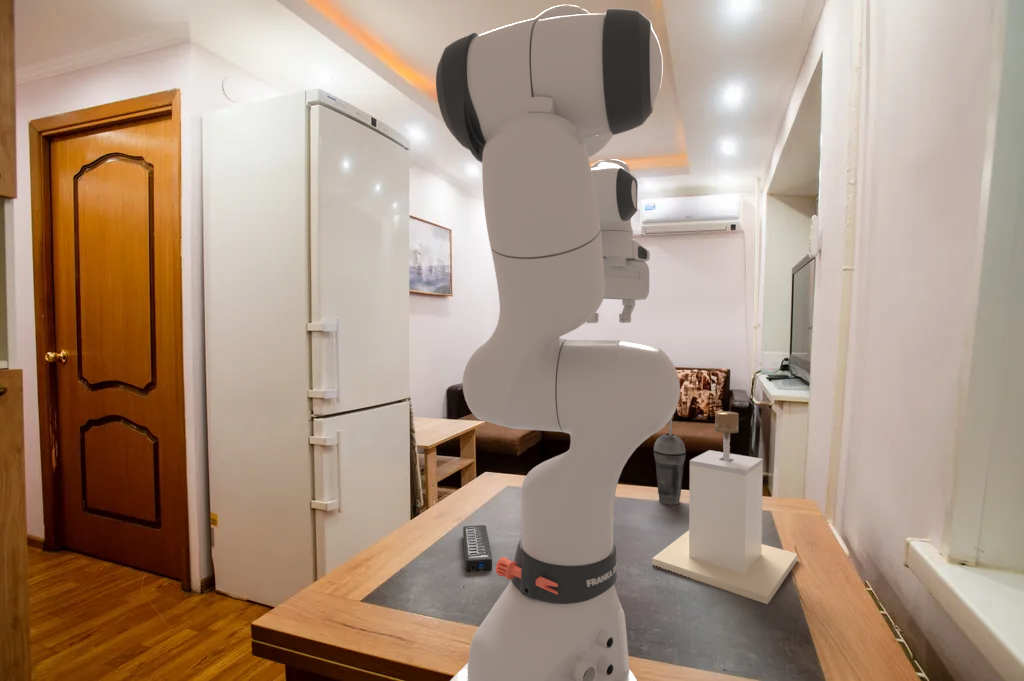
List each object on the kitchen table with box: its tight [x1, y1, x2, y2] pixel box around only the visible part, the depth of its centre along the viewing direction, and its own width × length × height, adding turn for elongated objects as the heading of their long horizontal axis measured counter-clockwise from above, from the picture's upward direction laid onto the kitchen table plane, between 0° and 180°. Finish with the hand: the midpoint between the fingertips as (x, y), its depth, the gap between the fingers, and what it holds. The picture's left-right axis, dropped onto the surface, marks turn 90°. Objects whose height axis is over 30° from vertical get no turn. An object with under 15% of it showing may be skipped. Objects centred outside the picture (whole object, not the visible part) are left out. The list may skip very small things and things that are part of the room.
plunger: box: [714, 410, 739, 462], centre depth 85 cm, size 7×7×18 cm
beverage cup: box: [652, 417, 687, 506], centre depth 115 cm, size 7×7×20 cm
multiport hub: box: [462, 524, 493, 573], centre depth 90 cm, size 4×14×2 cm, turn 7°
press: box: [651, 449, 799, 605], centre depth 85 cm, size 18×18×18 cm
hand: (609, 322), depth 96 cm, fingers open, 8 cm apart
